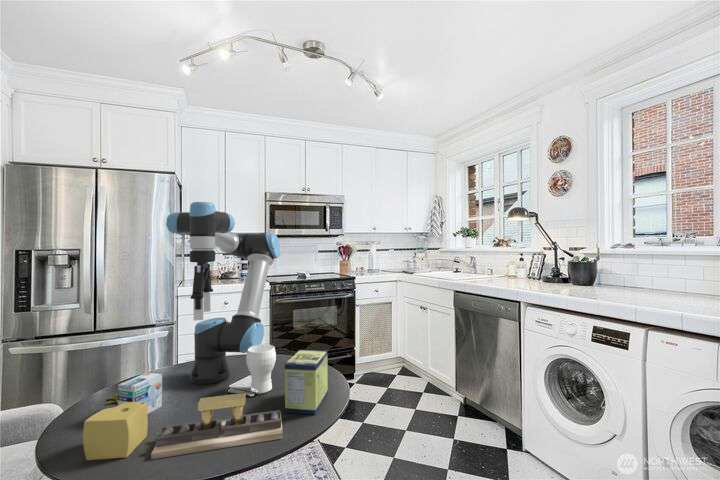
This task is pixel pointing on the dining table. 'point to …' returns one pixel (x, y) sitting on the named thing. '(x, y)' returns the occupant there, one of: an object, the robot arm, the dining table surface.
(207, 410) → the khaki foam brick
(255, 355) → the cup
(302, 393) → the protein box
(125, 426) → the cheese
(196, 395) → the dining table surface
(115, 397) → the red green plant
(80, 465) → the dining table surface
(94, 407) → the dining table surface
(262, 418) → the chain jig
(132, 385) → the light bulb box
